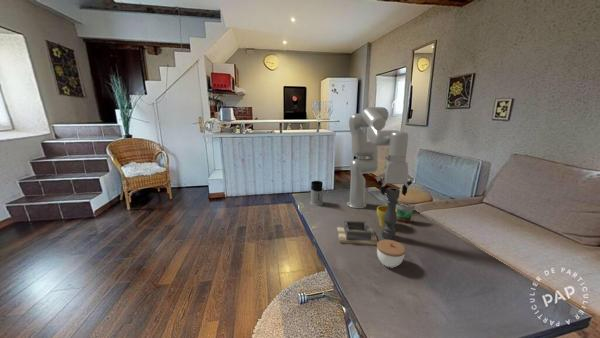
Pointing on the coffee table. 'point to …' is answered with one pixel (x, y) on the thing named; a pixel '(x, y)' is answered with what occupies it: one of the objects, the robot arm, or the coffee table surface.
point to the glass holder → (317, 193)
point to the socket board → (356, 233)
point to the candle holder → (390, 214)
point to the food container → (404, 212)
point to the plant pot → (382, 214)
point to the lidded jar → (390, 253)
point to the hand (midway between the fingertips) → (393, 194)
